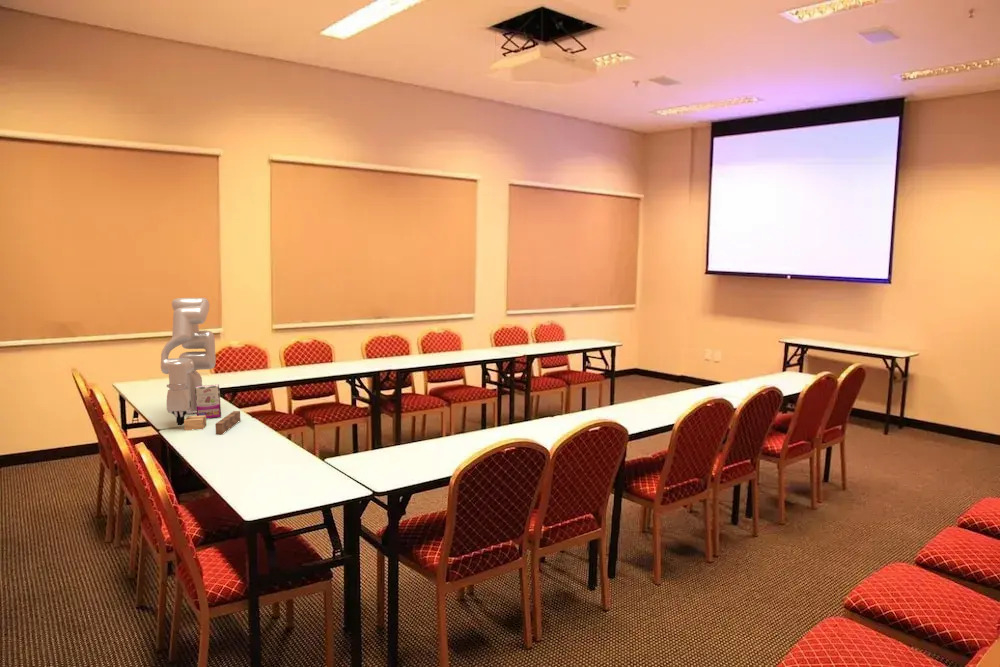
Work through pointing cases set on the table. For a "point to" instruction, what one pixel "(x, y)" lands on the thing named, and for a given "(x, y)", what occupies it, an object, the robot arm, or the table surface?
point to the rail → (227, 422)
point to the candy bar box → (208, 401)
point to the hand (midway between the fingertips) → (180, 424)
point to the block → (195, 422)
